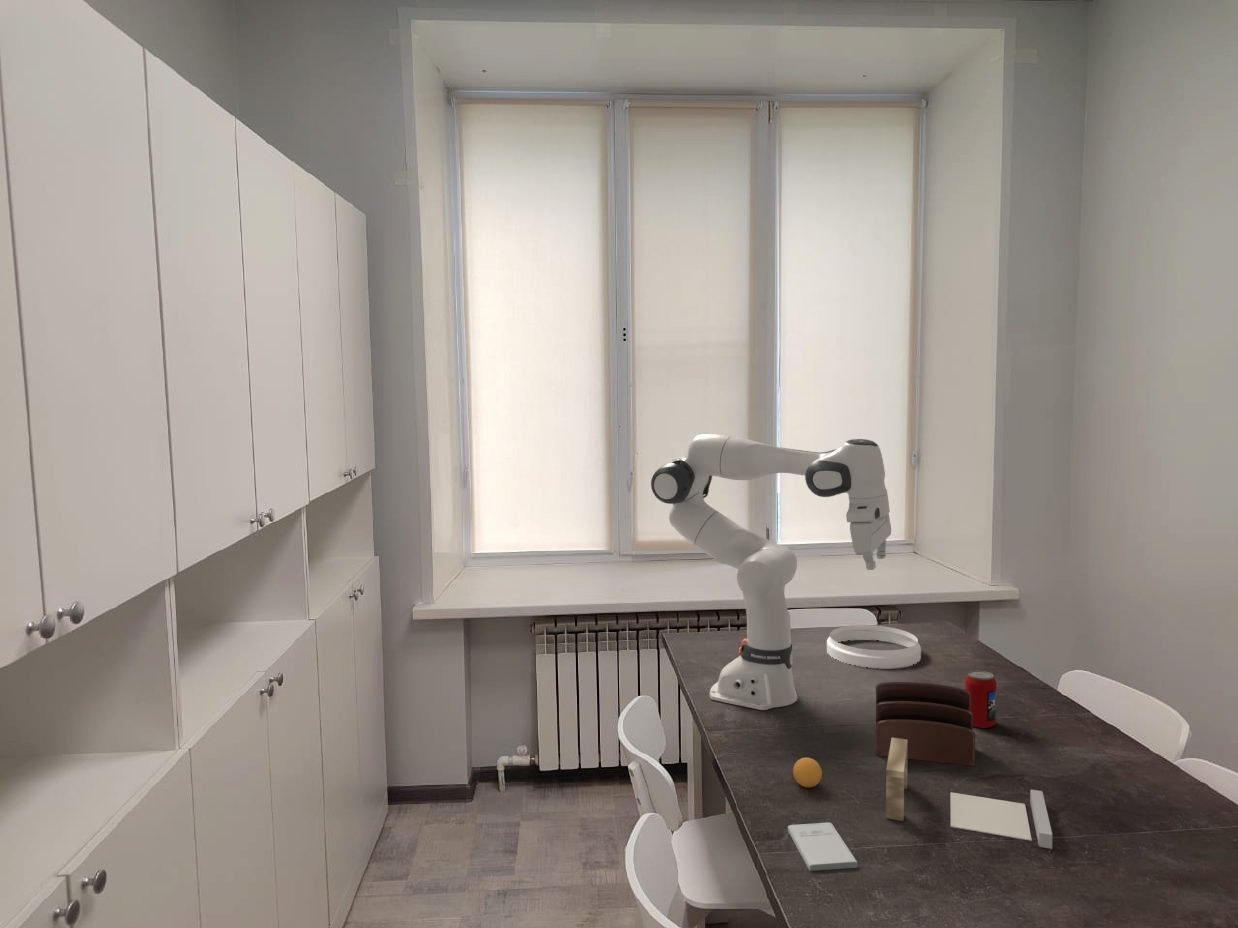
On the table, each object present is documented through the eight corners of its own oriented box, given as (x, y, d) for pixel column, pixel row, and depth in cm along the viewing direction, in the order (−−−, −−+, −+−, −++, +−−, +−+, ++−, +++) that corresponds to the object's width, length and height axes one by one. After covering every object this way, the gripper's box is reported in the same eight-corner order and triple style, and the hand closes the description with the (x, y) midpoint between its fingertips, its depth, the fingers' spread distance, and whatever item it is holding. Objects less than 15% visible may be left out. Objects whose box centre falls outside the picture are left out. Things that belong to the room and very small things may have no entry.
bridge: (886, 817, 146) (886, 769, 145) (891, 781, 159) (891, 737, 159) (903, 820, 145) (903, 771, 144) (907, 784, 158) (907, 739, 157)
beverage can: (999, 730, 182) (1000, 679, 181) (968, 728, 184) (968, 678, 183) (991, 718, 189) (992, 669, 188) (961, 717, 190) (962, 668, 189)
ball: (790, 789, 157) (790, 762, 157) (795, 777, 162) (795, 750, 162) (819, 794, 155) (819, 767, 154) (823, 781, 160) (823, 754, 160)
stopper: (1038, 846, 136) (1039, 832, 135) (1030, 801, 150) (1030, 789, 150) (1052, 848, 135) (1052, 834, 135) (1042, 803, 150) (1042, 791, 149)
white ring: (813, 659, 235) (813, 641, 235) (844, 636, 257) (844, 619, 257) (906, 676, 220) (906, 656, 219) (930, 649, 242) (930, 632, 241)
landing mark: (950, 826, 142) (950, 825, 142) (950, 793, 154) (950, 792, 154) (1031, 840, 137) (1031, 839, 137) (1024, 804, 149) (1025, 803, 149)
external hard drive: (809, 874, 130) (787, 832, 143) (857, 870, 131) (831, 829, 143) (809, 864, 130) (787, 824, 143) (857, 861, 131) (831, 821, 143)
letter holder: (875, 737, 181) (875, 677, 180) (969, 747, 175) (970, 685, 173) (875, 756, 171) (875, 693, 170) (975, 767, 165) (976, 702, 164)
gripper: (868, 498, 197) (874, 552, 198) (843, 517, 180) (851, 575, 181) (893, 497, 193) (900, 551, 195) (871, 516, 177) (879, 575, 178)
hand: (876, 563), depth 188 cm, fingers open, 8 cm apart
